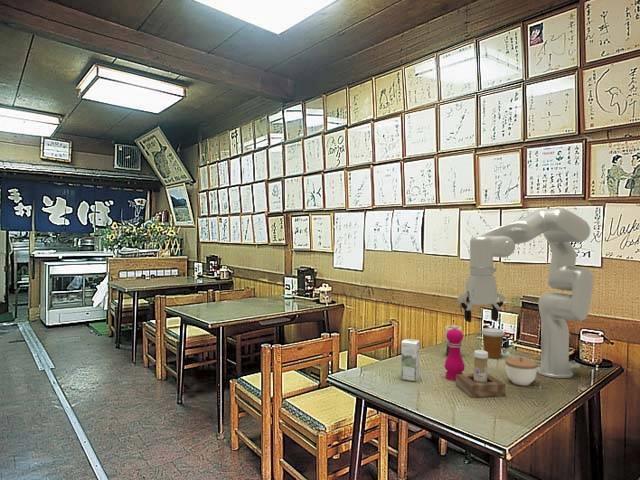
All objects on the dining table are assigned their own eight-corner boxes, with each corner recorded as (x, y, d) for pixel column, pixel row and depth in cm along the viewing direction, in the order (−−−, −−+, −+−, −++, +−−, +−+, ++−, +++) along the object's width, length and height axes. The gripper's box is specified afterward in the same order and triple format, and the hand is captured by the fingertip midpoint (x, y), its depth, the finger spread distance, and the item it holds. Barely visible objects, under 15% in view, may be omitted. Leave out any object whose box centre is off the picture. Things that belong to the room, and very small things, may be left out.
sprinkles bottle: (471, 389, 153) (472, 351, 152) (476, 386, 156) (477, 348, 156) (484, 393, 150) (485, 353, 149) (489, 389, 153) (490, 351, 153)
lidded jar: (523, 389, 154) (524, 363, 154) (498, 380, 164) (498, 355, 163) (543, 384, 159) (543, 359, 159) (518, 376, 168) (518, 351, 168)
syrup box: (419, 377, 167) (419, 339, 167) (416, 382, 161) (416, 343, 161) (404, 375, 169) (404, 338, 169) (400, 380, 164) (401, 341, 164)
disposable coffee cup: (479, 353, 200) (479, 327, 200) (501, 354, 199) (501, 327, 199) (483, 359, 191) (484, 331, 191) (506, 360, 189) (507, 332, 189)
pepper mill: (465, 381, 162) (465, 327, 162) (445, 380, 164) (445, 326, 163) (463, 375, 169) (463, 323, 169) (443, 374, 171) (444, 323, 170)
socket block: (487, 384, 160) (487, 373, 160) (505, 396, 148) (505, 384, 148) (456, 385, 158) (456, 374, 158) (471, 397, 146) (471, 385, 146)
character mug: (455, 360, 189) (456, 330, 189) (440, 357, 194) (440, 328, 194) (465, 355, 198) (466, 326, 197) (450, 352, 202) (450, 324, 202)
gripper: (499, 270, 158) (498, 318, 158) (453, 271, 155) (453, 319, 156) (510, 272, 150) (510, 322, 151) (462, 273, 148) (462, 324, 148)
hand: (481, 320), depth 153 cm, fingers open, 9 cm apart
